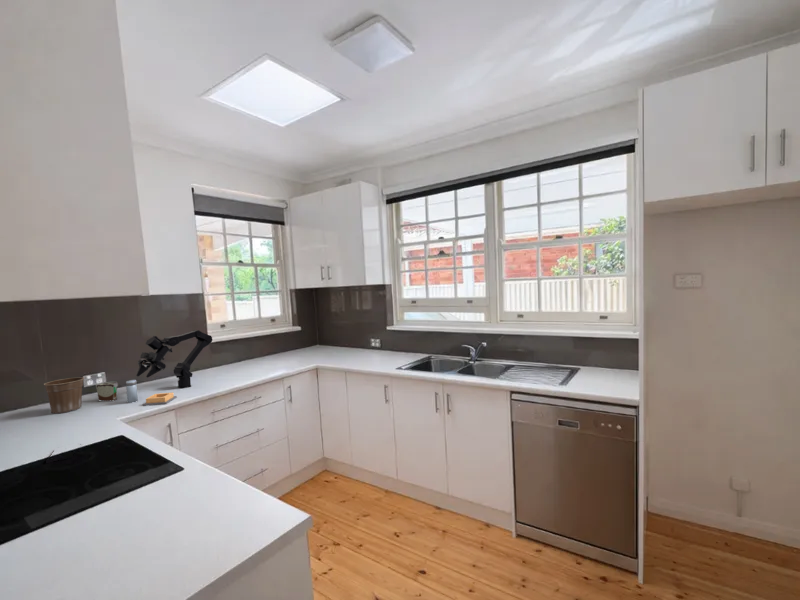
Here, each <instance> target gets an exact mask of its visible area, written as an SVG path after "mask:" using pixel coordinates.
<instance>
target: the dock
mask: <svg viewBox="0 0 800 600" xmlns="http://www.w3.org/2000/svg"><path fill="white" fill-rule="evenodd" d="M176 398H178V397H177V395H174V392H161V393H154V394H152V395H150V396H148V397H147V398H145V402H144V403H142V406H143V407H147V406H146V405H149V406H161V405H167V404H169V403H171V402H172V401H174V400H175V399H176Z"/></svg>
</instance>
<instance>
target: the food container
mask: <svg viewBox="0 0 800 600" xmlns="http://www.w3.org/2000/svg"><path fill="white" fill-rule="evenodd" d="M118 387H119V383H118V382H117V381H104V382H98V383H96V384H95V388H96V393H97V398H98V401H99V400H104V401H103V402H113V401H112V400H114V401H116V400H117V397H118V395H117V394H118V393H117V392H118ZM110 400H111V401H110Z"/></svg>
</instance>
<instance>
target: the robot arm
mask: <svg viewBox="0 0 800 600" xmlns="http://www.w3.org/2000/svg"><path fill="white" fill-rule="evenodd" d="M192 338H195V339H196V340H197V341H196V345H195V346H194V348H192V350H191V352H189V354H188V356H186V358H185V359H184V361H181V362H178V363H177V364H176V366H174V367H173V368H174V369H173V375H175V377H176V378H177V387H178V388H179V389H185V388H190V387H192V384H191V378H192V377H193V372H191V366H192V364H194V361H195V360H196V359H197V357H198V356H199V355H200V354H201V353H202V351H203V349H205V348H207V347H208V346H209V345H210V344H211V343H212V342H213V337H212V335H210V334H207V333H205V332H202V331H200V330H197V329H196V330H195V329H194V330H192V331H188V332H185V333H183V334H179V335H173V336H166V337H163V339H160V338H159V337H158V336H156V335H153V336H152V337H150V338H148V339H147V340H146V341H145V345H146V346H147V347H149V348H150V349H152V350H153V352H152V351H148V352H141V353H140V356H139V358H140V359H139V360H138V361H137V365H138V367H139V368H138V371H137V372H136V377H140V376H141V375H142V374H144V373H145V372H146V371H148V373H147V374H146V376H145V377H146V378H149V377H152V376H153V375H154V374H156V373H158V372H161V371H163V370H165V369H166V368H167V365H166V364H165V363H164V362H163V361H164V360H165V357H166V355H167V354H168V353H173V350H172V349H173V348H172V347H176V346H177V345H178V344H180V343H181V342H183V341H187V340H190V339H192ZM155 350H156V351H155ZM149 368H150V370H149Z"/></svg>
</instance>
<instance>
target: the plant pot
mask: <svg viewBox="0 0 800 600" xmlns="http://www.w3.org/2000/svg"><path fill="white" fill-rule="evenodd" d="M84 379H85V377H84V376H83V377H82V376H81V377H80V376H79V377H69V378H62V379H55V380H52V381H48V382H45V383H43V386H44V387H45V392H47V397H48V402H49V407H50V412H51V414H64V413H69V412H71V411H76V410H79V409H81V408H82V398H83V397H82V395H83V386H84Z"/></svg>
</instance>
